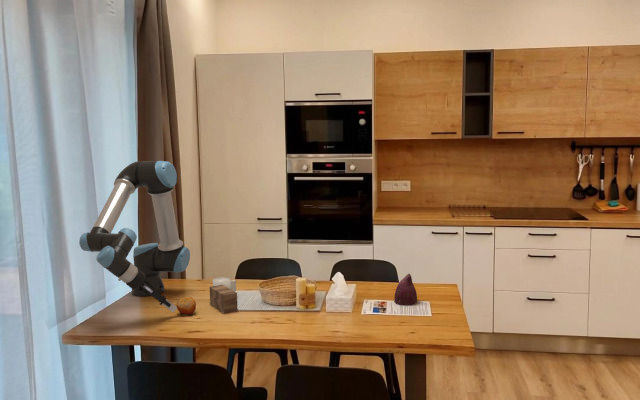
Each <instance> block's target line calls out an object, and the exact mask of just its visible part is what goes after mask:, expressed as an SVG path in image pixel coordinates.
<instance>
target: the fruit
mask: <svg viewBox="0 0 640 400" xmlns="http://www.w3.org/2000/svg"><path fill="white" fill-rule="evenodd" d="M175 306H176V307H177V309H176V310H177V311H178V312H179V314H180V315H182V316H184V315H185V316H189V315H193V314H194V313H195V311H196V309H197V303H196V300H195V299H194V298H193V297H192V296H185V297H184V296H183V297H182V298H180V299H178V300H177V303H176V305H175Z"/></svg>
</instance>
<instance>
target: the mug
mask: <svg viewBox="0 0 640 400" xmlns="http://www.w3.org/2000/svg"><path fill="white" fill-rule="evenodd" d="M217 285H224V286H225V287H227V288H229V289H231V290H233V291H235V292H237V280H236V279H232V280H231V278H230V277H228V276H227V277H226V276H220V277H215V278H213V279H212V286H217Z"/></svg>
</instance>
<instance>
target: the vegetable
mask: <svg viewBox="0 0 640 400" xmlns="http://www.w3.org/2000/svg"><path fill="white" fill-rule="evenodd" d="M417 295H418V294H417V290H416V288H415V285H414V282H413V278H412V275H411V274H410V273H407V274H406V275H405V276H404V277H403V278H402V279H401V280H400V281H399V282H398V284H397V286H396V288H395V292H394V299H393V300H394V303H395V305H397V306H414V305H416V304H417V303H418V296H417Z"/></svg>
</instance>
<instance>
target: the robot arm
mask: <svg viewBox="0 0 640 400" xmlns="http://www.w3.org/2000/svg"><path fill="white" fill-rule="evenodd" d="M177 179H178V175H177V171H176V168H175V166H174V164H173V163H171V162H170V161H166V160H165V161H164V160H148V161H147V160H145V161H143V160H139V161H134V162H131V163H129V164H128V165H127V166H125V168H123V169H122V170H121V171H120V172H119V173H118V175H117V176H116V178H115V179H114V181H113V188H112V190H111V192H110V194H109V196H108V197H107V200H106V202H105V204H104V205H103V207H102V209H101V211H100V213H99V215H98V217H97V218H96V221H95V223H94V224H93V227H92V228H91V230H90V232H84V233H82V234H81V235H80V238H79V247H80V249H81V250H82V251H85V252H92V253H93V252H94V253H95V252H98V253H97V256H96V261H97V263H98V265H99V264H100V266H101V267H102V268H104V269H106V270H107V271H108V272H110V273H111V274H112V275H114V276H115V277H116V278H118V279H117V280H118V282H123V283H124V284H126V286H128V287H129V288H130V289H131V294H132V296H136V297H149V296H151V297H153V298H154V299H155V300H156V301H158V302H159V305H160V306H164V307H165V308H166V309H167V310H169V311H170V312H171V313H175V311H176V310H178V309H177V307H176V305H175V304H173V302H171V301H170V300H169V299H167V298H166V295H164V294H163V293H164V292H165V284H164V282H163V279H162V276H161V272H165V273H167V272H168V273H182V272H184V271H186V269H187V268H188V266H189V264H190V263H189V262H190V259H191V252H190V251H191V250H190V249H189V248H188V247H185V246H184V242H183V240H181V239H180V237H179V232H178V225H177V220H176V215H175V214H176V213H175V208H174V203H173V196H172V192H173V190H174V187H175V186H176V184H177V181H178V180H177ZM139 188H146V193H147V195H150V196H151V201H152V206H153V211H154V217H155V221H156V226H157V232H158V237H159V243H158V242H152V243H151V242H150V243H146V244H145V243H144V244H141V245H137V246H135V243H136V241H137V238H138V235H137V233H136V232H135V231H134V230H133V229H130V228H129V227H123V228H121V229H120V230H119V231H118V233H112V231H113V230H114V228H115V226H116V224H117V222H118V220H119V218H120V217H121V214H122V212H123V210H124V208H125V207H126V205H127V203H128V201H129V198H130V197H131V195H132V194H135V192H136V190H137V189H139ZM133 247H134V248H133ZM132 249H133V251H132V252H133V257H132V258H133V263H132V262H131V261H129V260H128V259H127V257H128V256H129V254H130V252H131V250H132ZM162 294H163V295H162Z"/></svg>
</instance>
